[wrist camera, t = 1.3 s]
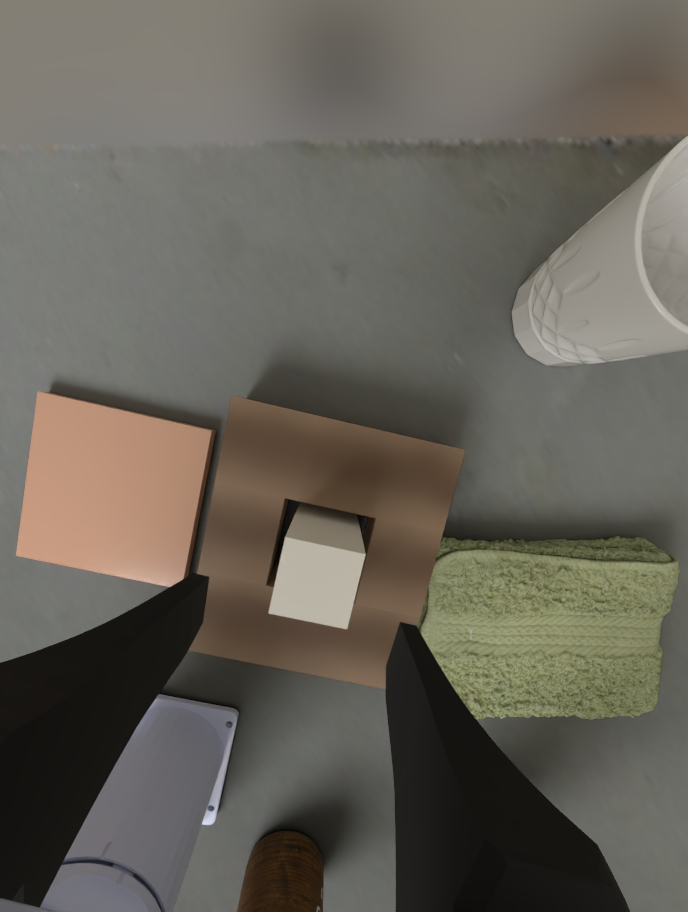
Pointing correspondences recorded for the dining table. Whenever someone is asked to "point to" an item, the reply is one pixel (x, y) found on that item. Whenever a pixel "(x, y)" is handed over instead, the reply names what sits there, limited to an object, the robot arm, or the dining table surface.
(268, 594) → the brown board with hole
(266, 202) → the dining table surface
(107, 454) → the tile
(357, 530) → the plug
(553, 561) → the washcloth
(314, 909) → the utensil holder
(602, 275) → the white cup
